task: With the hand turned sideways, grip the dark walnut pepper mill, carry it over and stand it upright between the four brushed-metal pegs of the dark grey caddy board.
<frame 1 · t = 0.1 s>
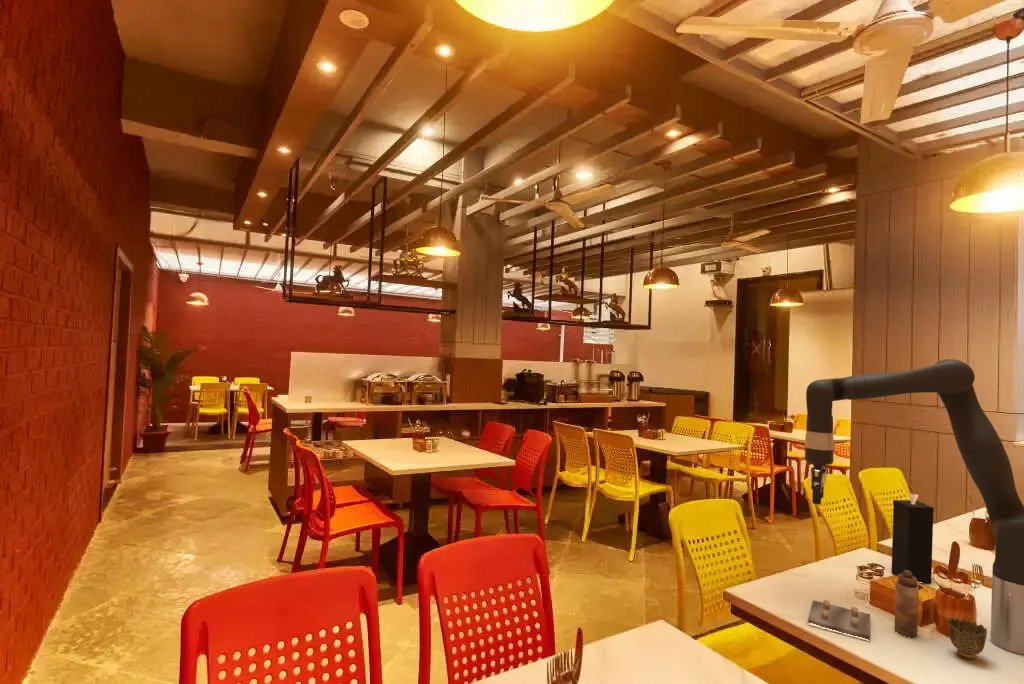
hand: (817, 500, 167), 29 cm above the table, tool pointing down, fingers open, 8 cm apart
cup: (966, 657, 137), on the table
tissue box: (910, 579, 183), on the table
caddy board: (839, 622, 153), on the table
pepper mill: (905, 633, 148), on the table
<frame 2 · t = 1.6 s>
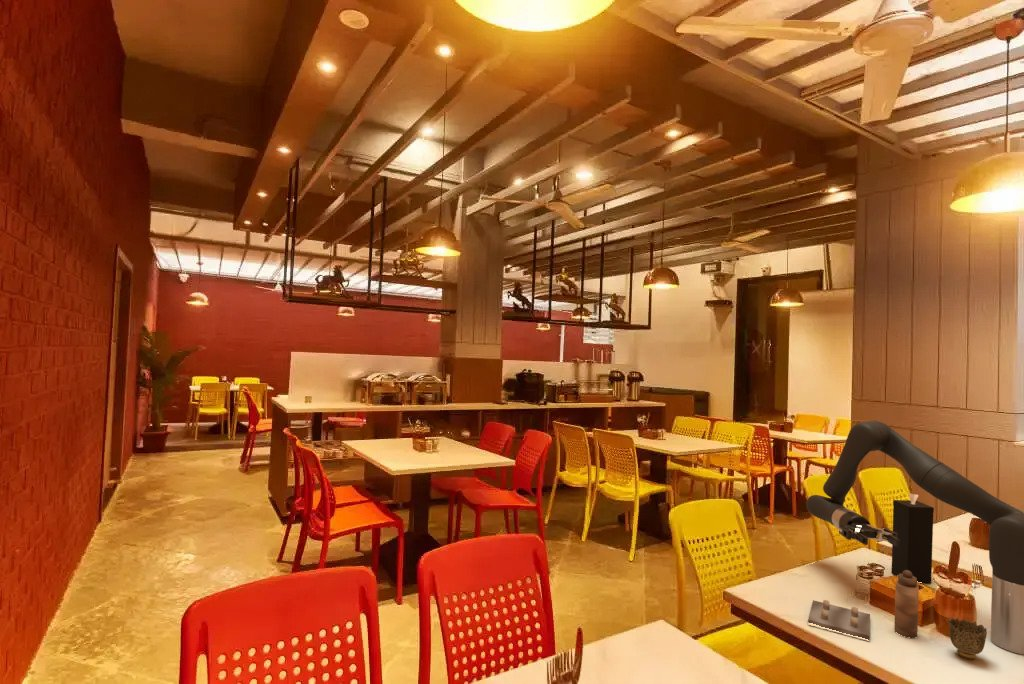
hand: (882, 542, 159), 20 cm above the table, tool horizontal, fingers open, 8 cm apart
nothing on the table moved.
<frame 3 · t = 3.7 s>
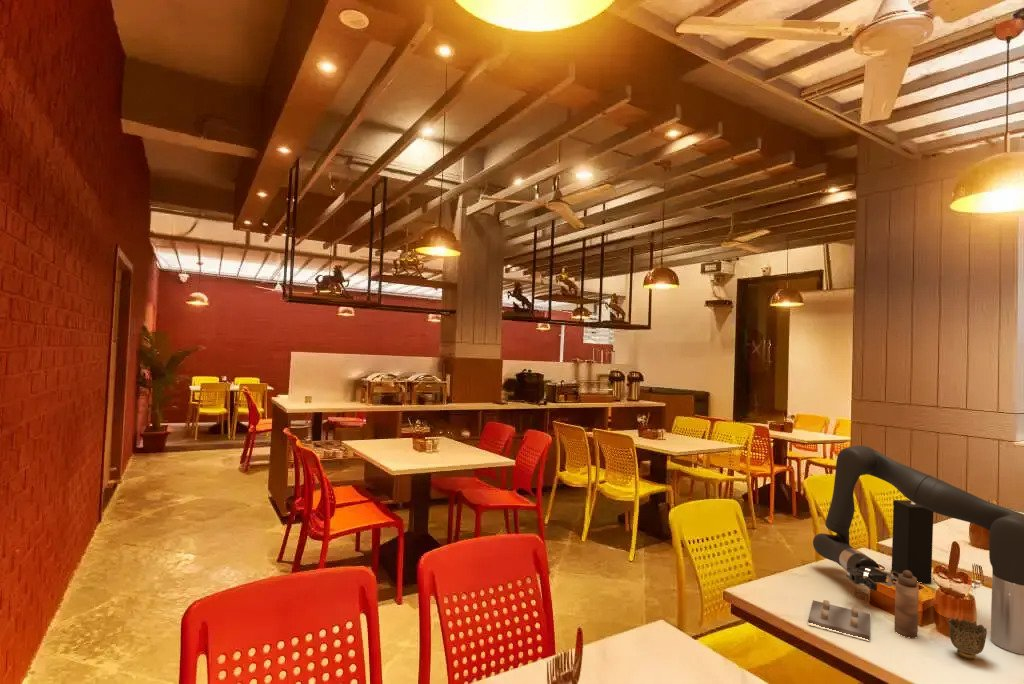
hand: (891, 588, 154), 9 cm above the table, tool horizontal, fingers open, 8 cm apart
nothing on the table moved.
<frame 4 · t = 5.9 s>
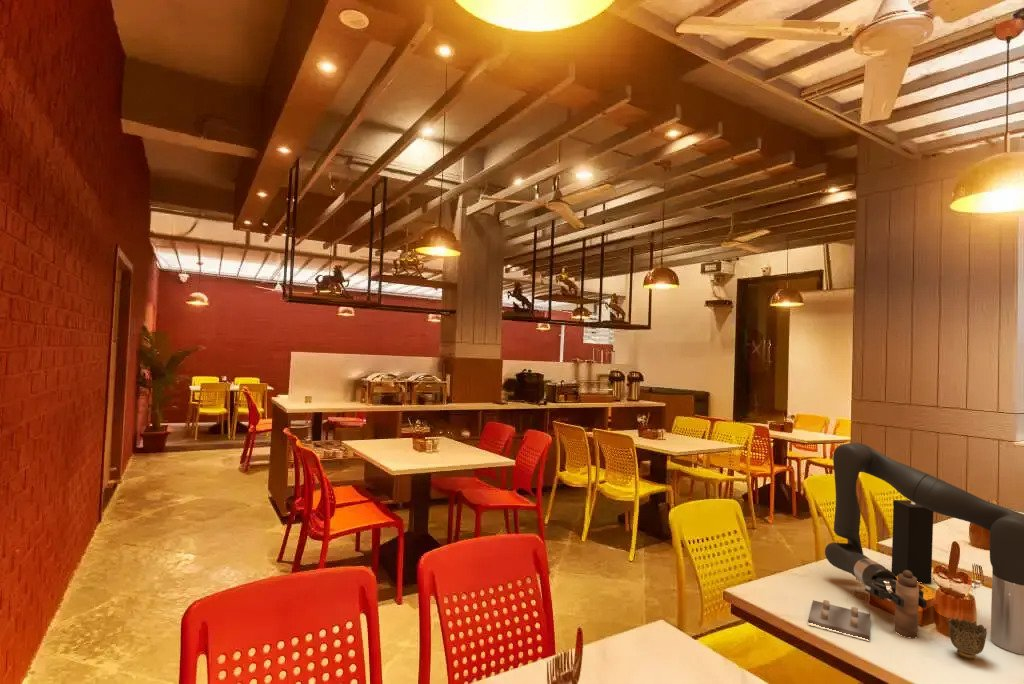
hand: (913, 603, 145), 9 cm above the table, tool horizontal, fingers closed on pepper mill, 5 cm apart
pepper mill: (905, 633, 148), on the table, touching gripper
everything else where it was.
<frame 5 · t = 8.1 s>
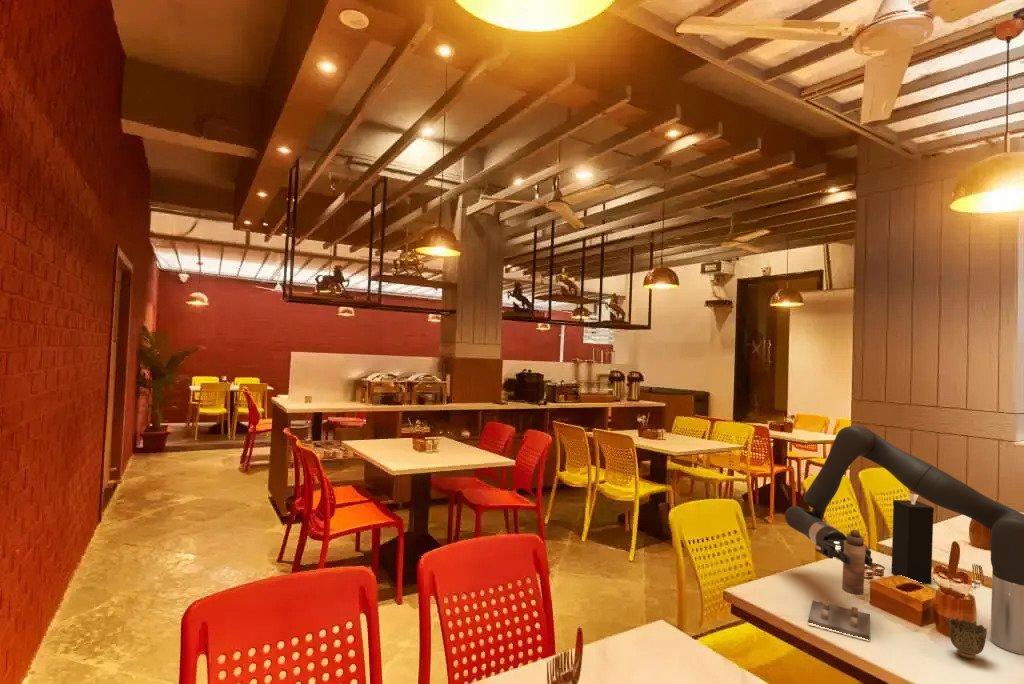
hand: (859, 561, 149), 18 cm above the table, tool horizontal, fingers closed on pepper mill, 5 cm apart
pepper mill: (852, 590, 152), point 9 cm above the table, touching gripper
everything else where it was.
when the fingers open (11 cm above the table, at t = 10.4 s): pepper mill stays where it is, resting on caddy board.
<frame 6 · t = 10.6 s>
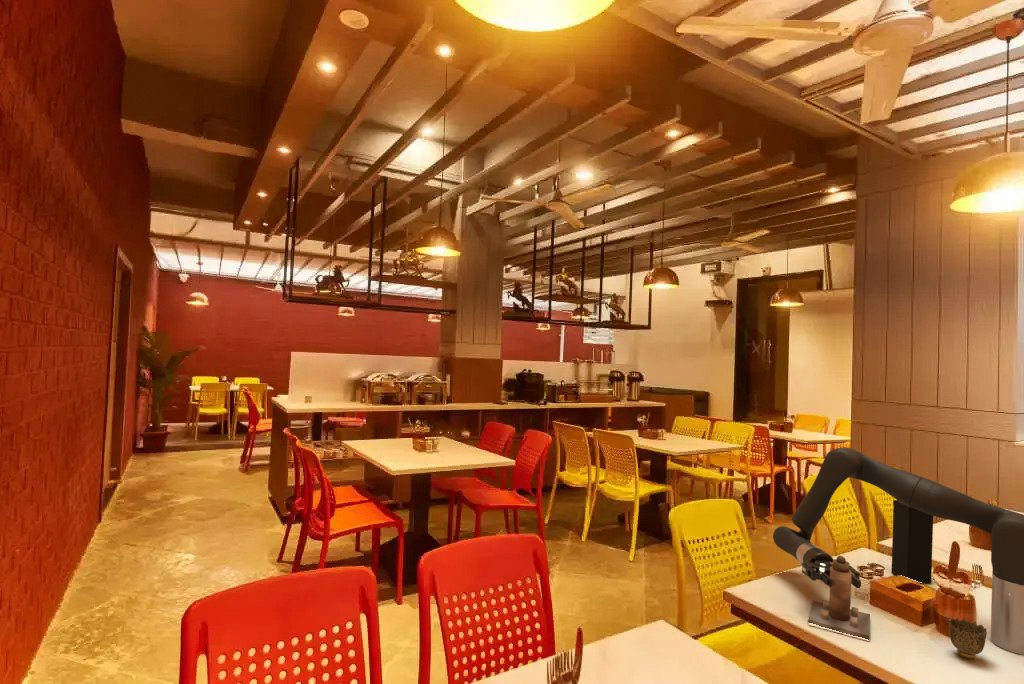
hand: (845, 584, 150), 11 cm above the table, tool horizontal, fingers open, 6 cm apart
pepper mill: (839, 616, 153), point 2 cm above the table, touching caddy board
everything else where it was.
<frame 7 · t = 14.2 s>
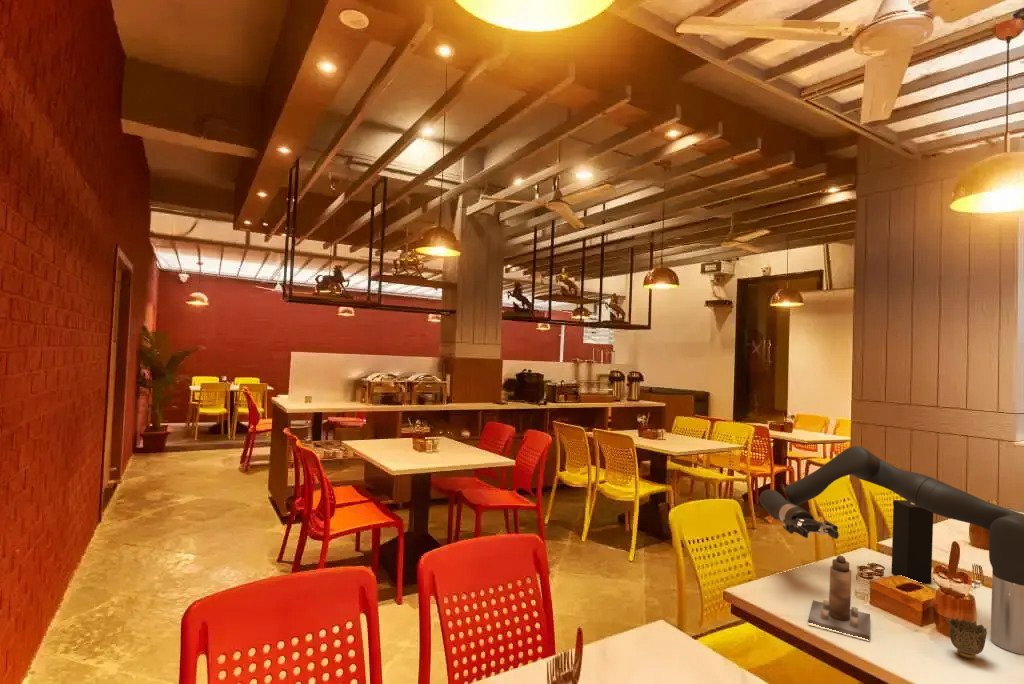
hand: (821, 535, 163), 20 cm above the table, tool horizontal, fingers open, 8 cm apart
nothing on the table moved.
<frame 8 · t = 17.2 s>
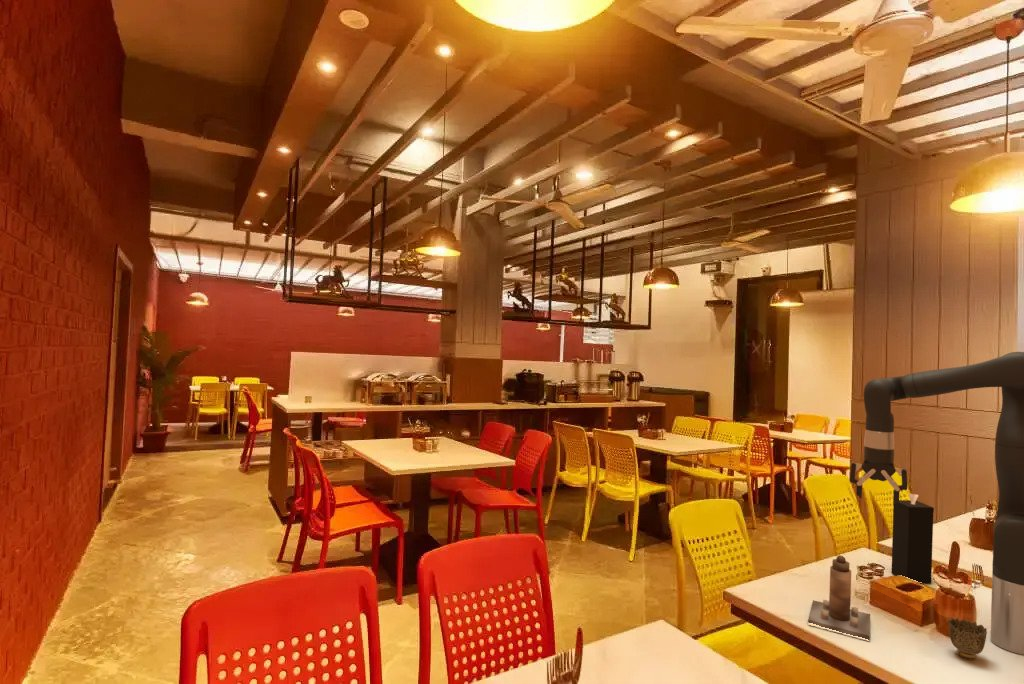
hand: (877, 500, 166), 30 cm above the table, tool pointing down, fingers open, 8 cm apart
nothing on the table moved.
at the end: pepper mill 0.1 cm off-centre on the caddy board, point 1.5 cm above the caddy board's base; pepper mill tilted 0°; the gripper is holding nothing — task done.
